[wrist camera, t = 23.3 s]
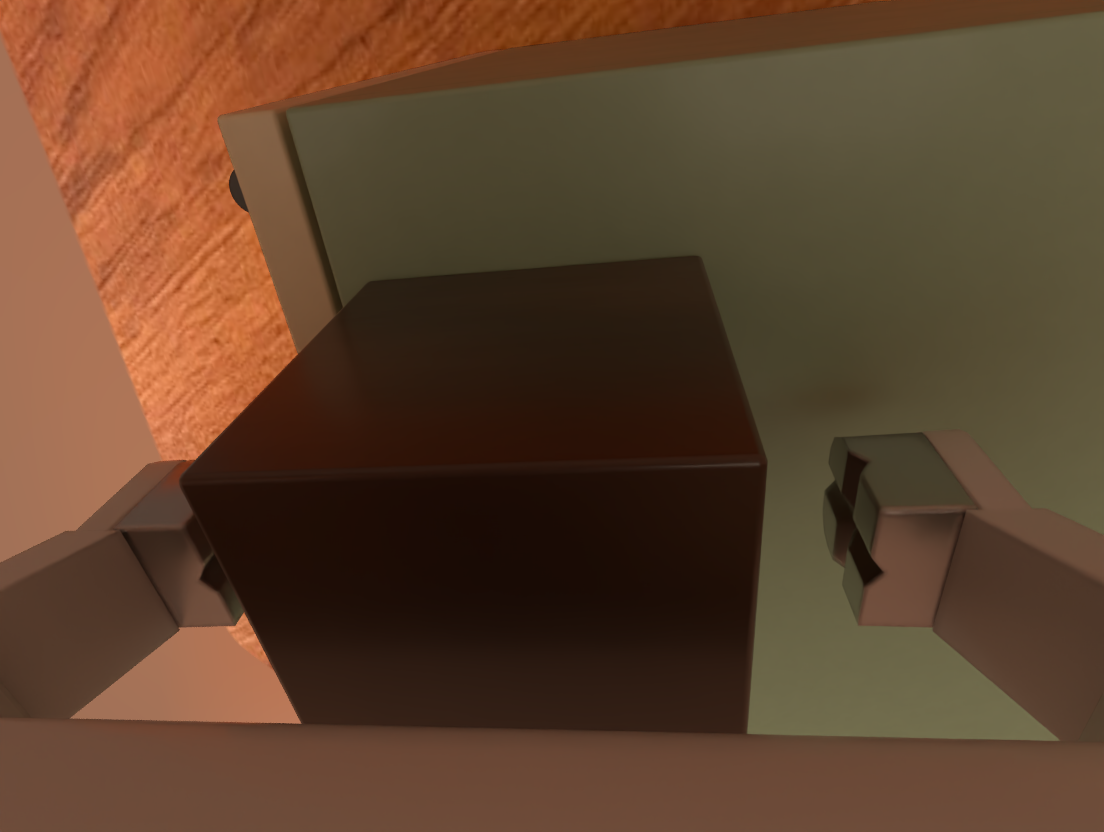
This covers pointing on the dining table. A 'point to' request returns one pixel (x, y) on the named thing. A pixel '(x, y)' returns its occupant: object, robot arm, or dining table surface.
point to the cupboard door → (289, 204)
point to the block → (502, 506)
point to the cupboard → (794, 263)
